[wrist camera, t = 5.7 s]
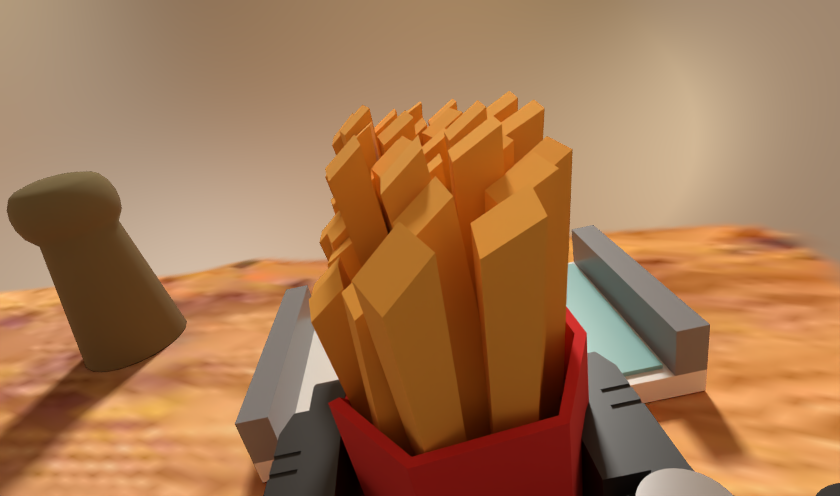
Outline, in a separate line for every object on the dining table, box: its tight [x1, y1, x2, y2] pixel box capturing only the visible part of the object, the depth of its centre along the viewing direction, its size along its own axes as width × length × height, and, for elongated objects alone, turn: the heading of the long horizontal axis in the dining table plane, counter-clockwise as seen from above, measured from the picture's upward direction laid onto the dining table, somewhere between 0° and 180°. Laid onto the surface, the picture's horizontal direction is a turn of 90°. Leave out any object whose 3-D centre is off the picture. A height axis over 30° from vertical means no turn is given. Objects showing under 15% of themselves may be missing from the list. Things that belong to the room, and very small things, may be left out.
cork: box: [7, 171, 187, 372], centre depth 28 cm, size 6×6×11 cm
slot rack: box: [235, 225, 710, 482], centre depth 22 cm, size 17×10×3 cm, turn 94°
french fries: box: [309, 91, 589, 496], centre depth 11 cm, size 9×4×13 cm, turn 9°
